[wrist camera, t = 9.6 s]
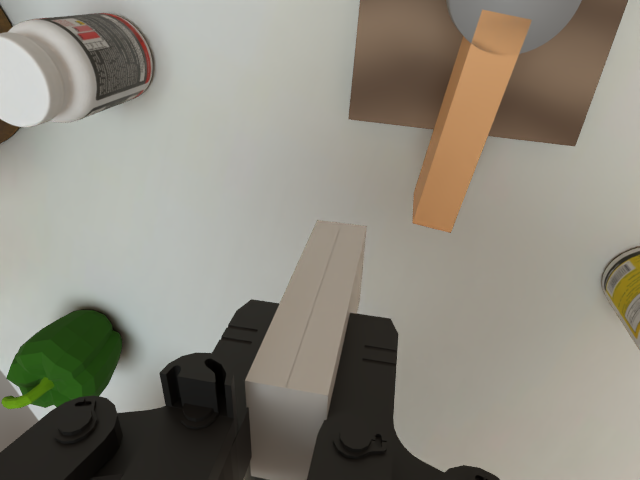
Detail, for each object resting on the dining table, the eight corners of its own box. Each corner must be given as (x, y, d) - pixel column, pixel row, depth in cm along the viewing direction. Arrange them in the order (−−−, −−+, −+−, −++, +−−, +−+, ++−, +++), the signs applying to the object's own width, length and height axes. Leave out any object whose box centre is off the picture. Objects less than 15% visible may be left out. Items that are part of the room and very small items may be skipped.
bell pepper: (132, 308, 44) (62, 385, 35) (138, 367, 48) (76, 449, 39) (54, 288, 45) (-33, 359, 36) (66, 348, 49) (-10, 424, 40)
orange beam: (466, -89, 20) (476, -105, 16) (581, -67, 19) (615, -79, 16) (388, 186, 27) (384, 216, 23) (472, 207, 26) (479, 240, 23)
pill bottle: (95, -6, 30) (-34, -4, 22) (167, 46, 31) (71, 68, 22) (72, 68, 33) (-50, 95, 24) (139, 114, 34) (44, 156, 25)
